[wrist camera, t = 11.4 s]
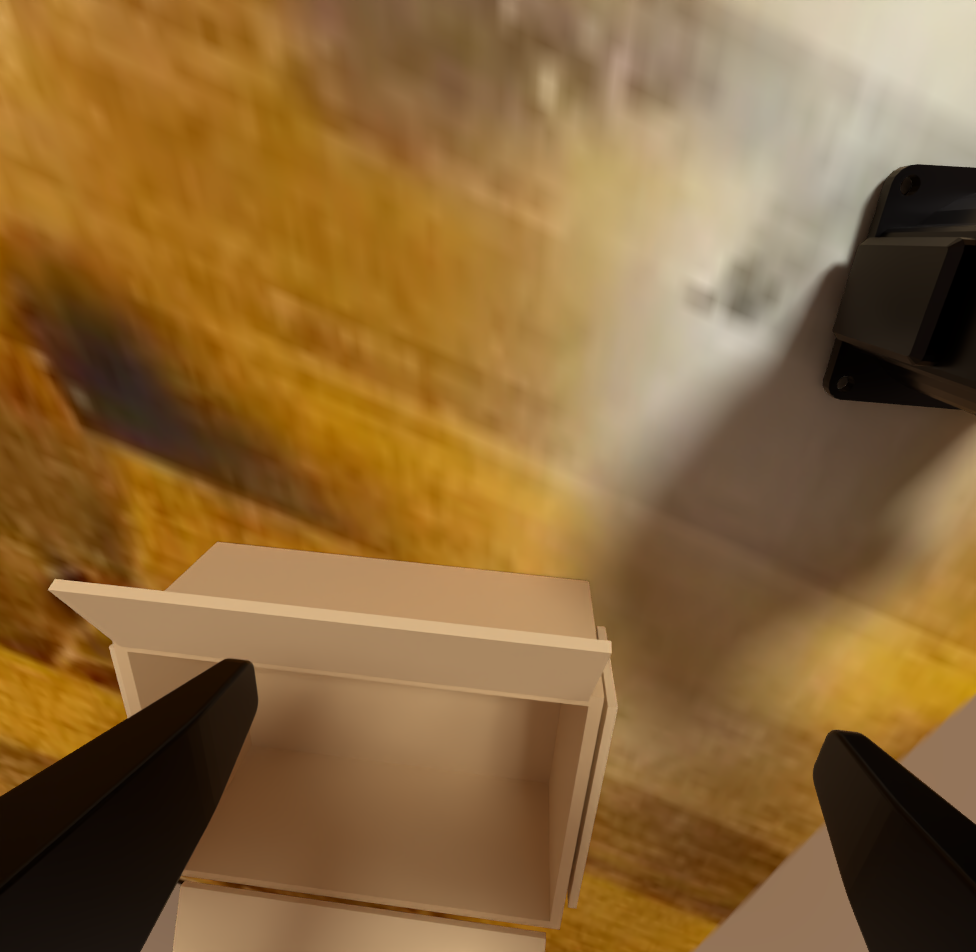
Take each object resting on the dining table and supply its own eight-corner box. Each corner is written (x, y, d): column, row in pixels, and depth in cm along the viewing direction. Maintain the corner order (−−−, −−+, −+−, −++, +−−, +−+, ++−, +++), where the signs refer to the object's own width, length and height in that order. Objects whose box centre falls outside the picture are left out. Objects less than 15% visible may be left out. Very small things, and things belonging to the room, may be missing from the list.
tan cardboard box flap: (588, 701, 16) (588, 690, 16) (611, 653, 13) (611, 641, 13) (119, 646, 17) (125, 636, 17) (48, 589, 14) (55, 579, 14)
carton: (603, 582, 22) (623, 700, 16) (567, 787, 26) (573, 933, 21) (204, 540, 23) (94, 637, 17) (237, 745, 27) (159, 874, 22)
